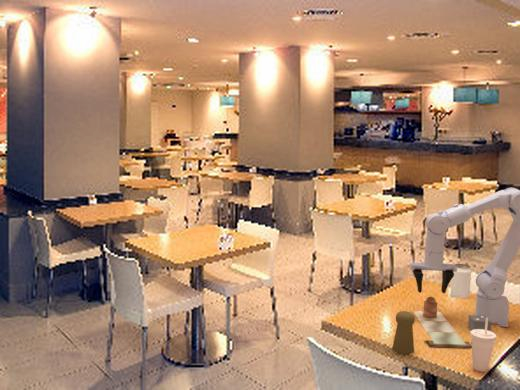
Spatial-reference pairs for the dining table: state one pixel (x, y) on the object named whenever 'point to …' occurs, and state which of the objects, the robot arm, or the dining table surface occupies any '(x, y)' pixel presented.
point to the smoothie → (482, 347)
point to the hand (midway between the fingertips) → (431, 292)
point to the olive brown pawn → (404, 333)
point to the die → (478, 322)
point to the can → (461, 281)
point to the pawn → (430, 308)
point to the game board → (441, 338)
